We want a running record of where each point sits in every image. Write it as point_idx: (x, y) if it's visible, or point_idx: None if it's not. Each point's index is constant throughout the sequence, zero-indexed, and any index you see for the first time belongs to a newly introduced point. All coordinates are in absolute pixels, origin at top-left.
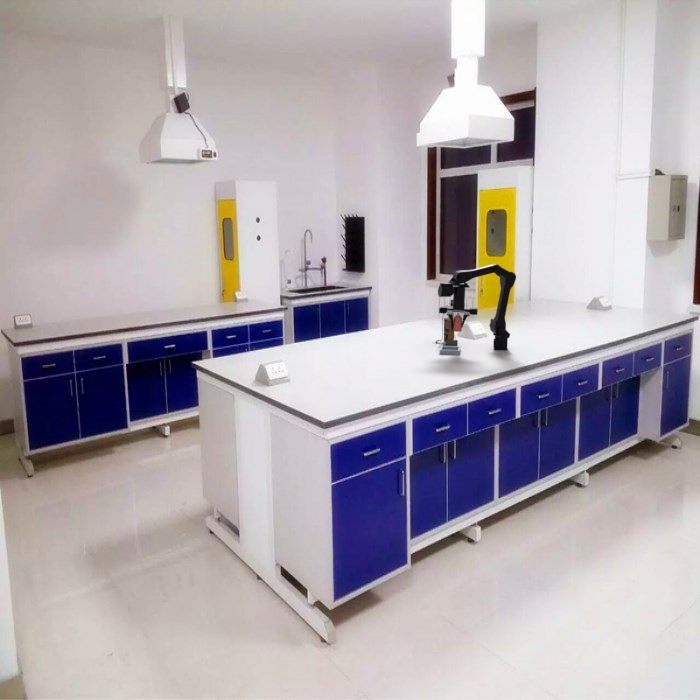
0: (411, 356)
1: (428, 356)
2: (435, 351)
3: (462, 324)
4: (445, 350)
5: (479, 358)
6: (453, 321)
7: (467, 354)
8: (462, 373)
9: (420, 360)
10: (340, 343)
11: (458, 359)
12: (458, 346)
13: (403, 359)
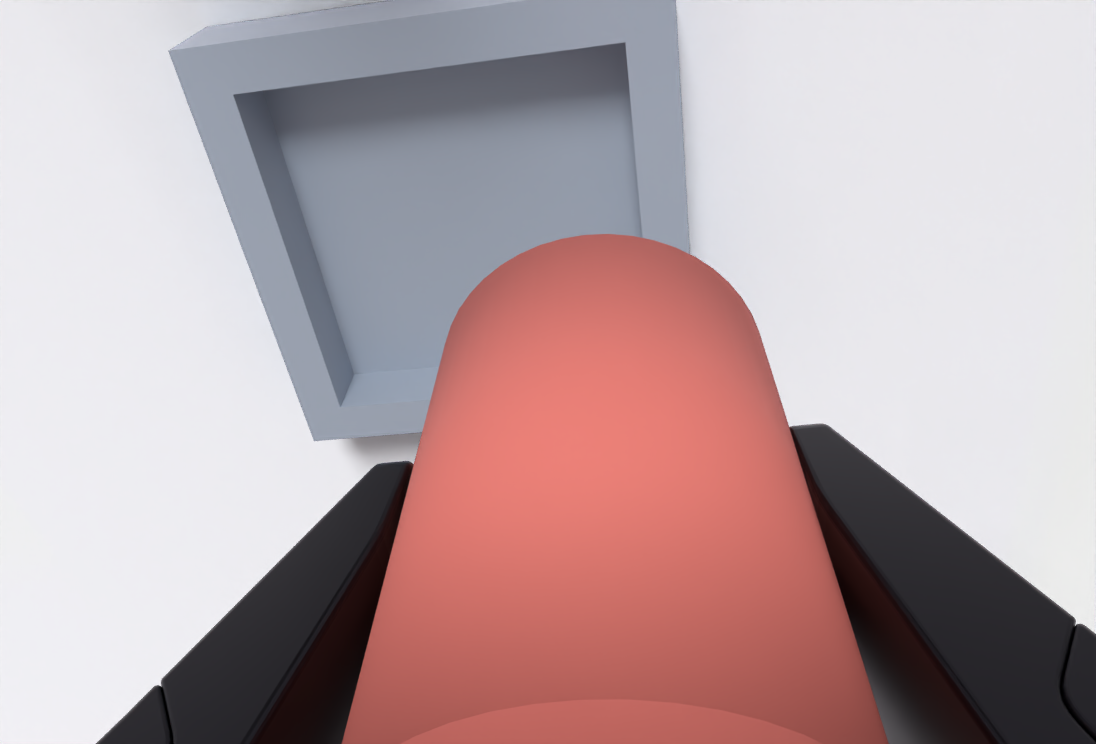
0: (23, 588)
1: (237, 550)
2: (181, 226)
3: None
4: (422, 428)
5: (1025, 519)
6: (337, 698)
7: (832, 318)
8: None
9: None
10: None
11: None
12: (617, 21)
13: (31, 709)
